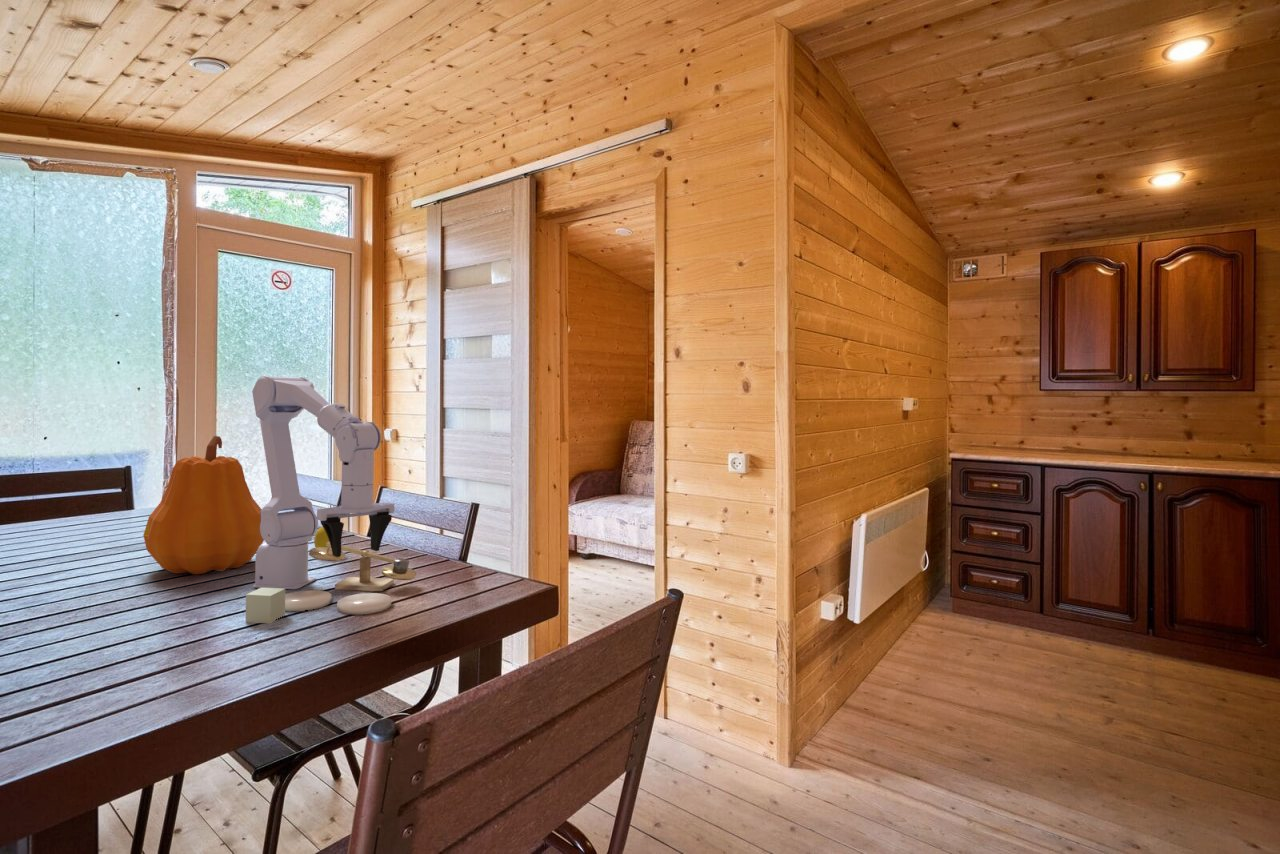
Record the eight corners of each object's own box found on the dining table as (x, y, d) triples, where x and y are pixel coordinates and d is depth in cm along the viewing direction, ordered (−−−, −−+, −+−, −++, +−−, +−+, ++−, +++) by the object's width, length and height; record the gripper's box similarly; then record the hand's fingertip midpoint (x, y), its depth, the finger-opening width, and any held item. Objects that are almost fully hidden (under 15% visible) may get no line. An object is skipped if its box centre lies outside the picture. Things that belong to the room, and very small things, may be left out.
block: (245, 622, 117) (245, 594, 117) (261, 614, 122) (261, 587, 122) (270, 623, 117) (270, 595, 117) (285, 615, 122) (285, 588, 122)
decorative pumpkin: (168, 556, 160) (168, 432, 159) (277, 553, 166) (278, 434, 165) (122, 583, 137) (122, 439, 136) (250, 579, 144) (251, 441, 143)
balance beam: (302, 555, 138) (305, 541, 138) (319, 547, 145) (322, 534, 145) (408, 582, 137) (411, 568, 137) (420, 573, 144) (423, 560, 144)
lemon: (328, 559, 163) (329, 526, 162) (309, 557, 164) (309, 525, 164) (343, 554, 168) (343, 522, 168) (323, 552, 169) (324, 521, 169)
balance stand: (334, 589, 138) (335, 559, 138) (348, 581, 144) (349, 553, 144) (381, 591, 138) (382, 561, 138) (393, 583, 144) (394, 555, 144)
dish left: (264, 610, 124) (264, 603, 124) (293, 595, 133) (293, 589, 133) (314, 612, 123) (315, 606, 123) (340, 597, 133) (340, 591, 133)
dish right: (327, 613, 123) (327, 606, 123) (352, 597, 133) (352, 592, 133) (378, 615, 123) (378, 609, 123) (399, 600, 133) (399, 594, 133)
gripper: (328, 489, 122) (327, 562, 122) (402, 483, 132) (400, 551, 133) (312, 485, 126) (311, 555, 127) (385, 479, 137) (384, 544, 138)
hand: (356, 552), depth 130 cm, fingers open, 7 cm apart
